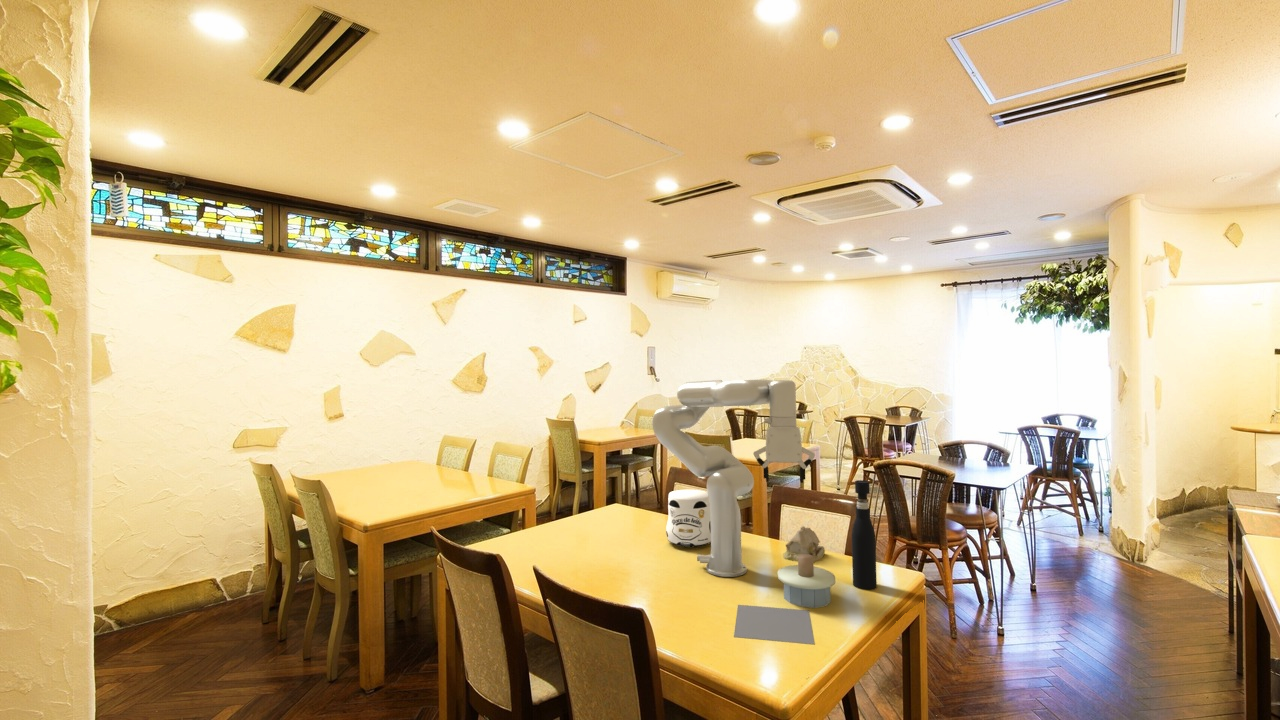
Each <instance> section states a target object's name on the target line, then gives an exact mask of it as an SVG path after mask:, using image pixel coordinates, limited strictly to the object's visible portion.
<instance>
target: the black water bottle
mask: <svg viewBox="0 0 1280 720" xmlns="http://www.w3.org/2000/svg"><path fill="white" fill-rule="evenodd" d="M854 492H855V493H856V494H857V501H856V508H855V519H854V522H853V525H852V531H851V554H852V555H851V557H852V562H851V563H852V585H853V587H855V588H857V589H859V590H865V591H871V589H873V590H875V588H876V589H877V588H878V587H877V583H878V582H877V581H878V580H877V554H876V553H877V551H876V545H877V544H876V533H875V528H874V525H873V522H872V520H871V511H870V510H871V509H870V508H869V507H870V506H869V501H868V495H869V494H871V493H870V481H868V480H864V479H862V480H861V479H860V480H859V479H858V480H854Z"/></svg>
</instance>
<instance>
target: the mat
mask: <svg viewBox="0 0 1280 720" xmlns="http://www.w3.org/2000/svg"><path fill="white" fill-rule="evenodd" d="M733 638H740V639H751V640H760V641H762V640H763V641H772V642H782V643H783V642H784V643H792V644H793V643H794V644H805V645H815V644H816V643H815V638H814V633H813V625H812V620H811V615H810V610H808V609H800V608H799V609H797V608H795V609H794V608H783V607H771V606H759V605H744V604H737V610H736V617H735V626H734V632H733Z"/></svg>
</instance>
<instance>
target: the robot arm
mask: <svg viewBox="0 0 1280 720" xmlns="http://www.w3.org/2000/svg"><path fill="white" fill-rule="evenodd" d="M796 388H797V387H796V382H795V381H793V380H789V379H788V380H787V379H785V380H784V379H783V380H782V379H781V380H777V379H776V380H771V379H744V380H731V381H730V380H729V381H728V380H727V381H725V380H724V381H723V380H721V379H716V380H699V381H698V380H697V381H688V382H684V383H682V384H681V385H680V386H679V387H678V389H677V392H676V396H677V401H678V402H679V403H680V404H676V405H675V404H674V405H666V406H662V407H660V408H658V409H657V410H656V411H655V412H654V414H653V416H652V420H651V421H652V422H651V424H652V430H653V433H654V435H655V436H654V437H656V439H657V440H658V442H659V443H660V444H661V445H662V446H664V448H666V449H667V450H668V451H669V452H670V453H671V454H673V455H674V456H675V458H677V459H678V460H679V461H680V462H681V463H682V464H683V465H684V466H685V467H686V469H688V470H689V471H690V472H691V473H692V474H694V475H695V476H696V477H698V478H705V477H708V478H707V480H706V492H707V493H708V498H709V504H710V526H711V542H710V553H709V554H706V555H705V554H697V555H696V560H697V562H699V563H700V564H706V566H705V567H706V569H705V570H706V571H707V573H709V574H711V575H713V576H717V577H725V578H733V577H734V578H735V577H739V576H742V575H744V574H746V573H747V572H748V570H747V569H748V567H747V565H746V564H744V563H743V562H742V558H743V556H742V519H741V517H742V516H741V509H740V506H739V503H738V500H737V498H738V497H741V496H743V495H746V494H748V493H750V492H751V491H752V489H753V488H754V485H755V479H754V476H753V474H752V472H751V471H750V470H749V467H747V465H745V463H744V464H743V463H742V462H741V460H739V459H738V458H737V457H736V456H735V455H733V454H732V453H731V452H730V451H729V450H727V449H726V448H725V447H723V446H720V445H716V444H715V445H708V446H705V445H702V444H701V443H700V442H698V441H697V440H696V439H694V437H693V436H691V435H689V433H686V432H684V431H683V430H687V429H690V428H692V427H694V426H695V425H696V424H697V423H698V422H699V421H700V419H702V417H704V415H705V414H706V412H707V411H708V409H710V408H723V407H735V406H736V407H750V406H758V405H759V406H760V405H761V406H762V405H768V404H769V417H768V418H764V423H765V424H769V426H768V427H767V428H766V435H765V446H763V447H761V448H758V449H757V450H755V451H754V452H753V456H754V458H755V460H756V462H757V463H758V464H759V465H760V466H761V467H762V468H763V469H762V470H763V479H765V482H766V483H768V482H769V481H770V480H769V467H768V466H769V465H770V464H771V463H783V464H784V463H785V464H786V463H787V464H788V463H789V464H790V463H791V464H793V463H795V464H798V465H799V466H800V467H799V481H800V484H804V480H806V469H807V468H808V467H809V465H811V464H812V462H813V460H814V458H815V456H816V454H815V452H813V451H811V450H809V449H807V448H805V447H803V445H802V444H803V443H802V435H801V430H800V427H798V426H797V425H798V424H797V395H796V394H797V389H796ZM763 453H765V460H763V459H762V457H761V456H760V455H761V454H763ZM803 453H804V454H805V455H807V456H808V457H807V458H806V460H805V461H803Z"/></svg>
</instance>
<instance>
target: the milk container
mask: <svg viewBox="0 0 1280 720" xmlns="http://www.w3.org/2000/svg"><path fill="white" fill-rule="evenodd" d="M667 499H668V503H667V504H668V505H667V509H668V510H667V511H668V518H667V522H666V527H665V535H666V537H667V540H668V542H670V543H671V544H672V545H673V546H674V545H675V546H678V547H683V548H700V547H704V546H706V545H708V544H711V526H710V504H709V498H708V493H707V490H706V491H705V490H700V489H679V490H673V491H670V492H669V493H668V498H667Z"/></svg>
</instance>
